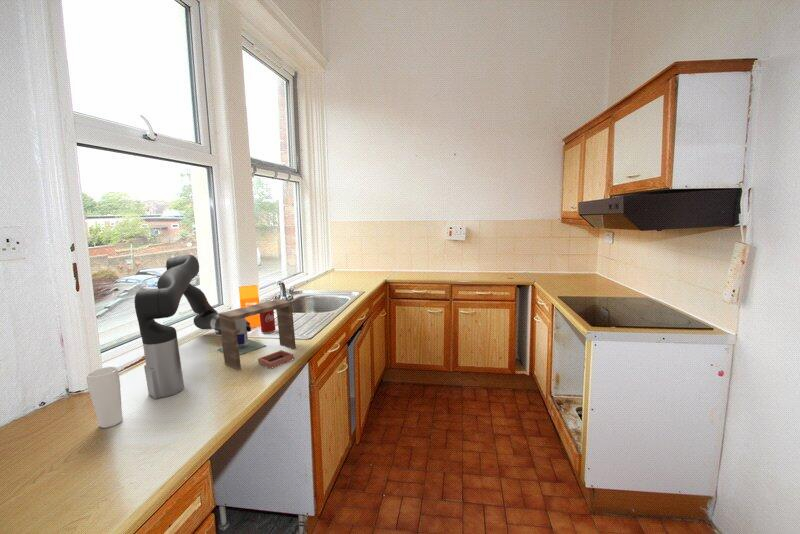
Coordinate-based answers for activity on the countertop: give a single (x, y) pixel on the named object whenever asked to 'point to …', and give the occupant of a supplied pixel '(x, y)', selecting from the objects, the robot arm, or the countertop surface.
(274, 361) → the pink tray
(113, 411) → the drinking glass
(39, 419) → the countertop surface
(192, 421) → the countertop surface
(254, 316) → the orange juice
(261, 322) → the beverage can
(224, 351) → the tunnel
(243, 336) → the energy drink
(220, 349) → the mat
